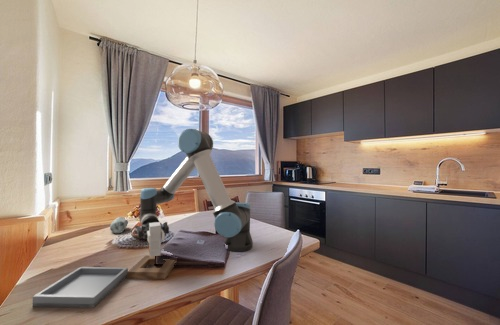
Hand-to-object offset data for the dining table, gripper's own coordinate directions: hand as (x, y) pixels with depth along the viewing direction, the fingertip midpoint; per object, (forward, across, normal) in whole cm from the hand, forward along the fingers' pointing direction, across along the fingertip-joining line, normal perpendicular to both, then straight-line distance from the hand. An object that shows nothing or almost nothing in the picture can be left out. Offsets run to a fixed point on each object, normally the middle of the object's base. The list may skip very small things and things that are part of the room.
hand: (156, 238), depth 82 cm
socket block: (-5, 0, -14) cm, 15 cm away
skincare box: (-5, 0, -8) cm, 10 cm away
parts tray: (-2, +22, -14) cm, 26 cm away
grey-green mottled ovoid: (-66, +13, -14) cm, 69 cm away
